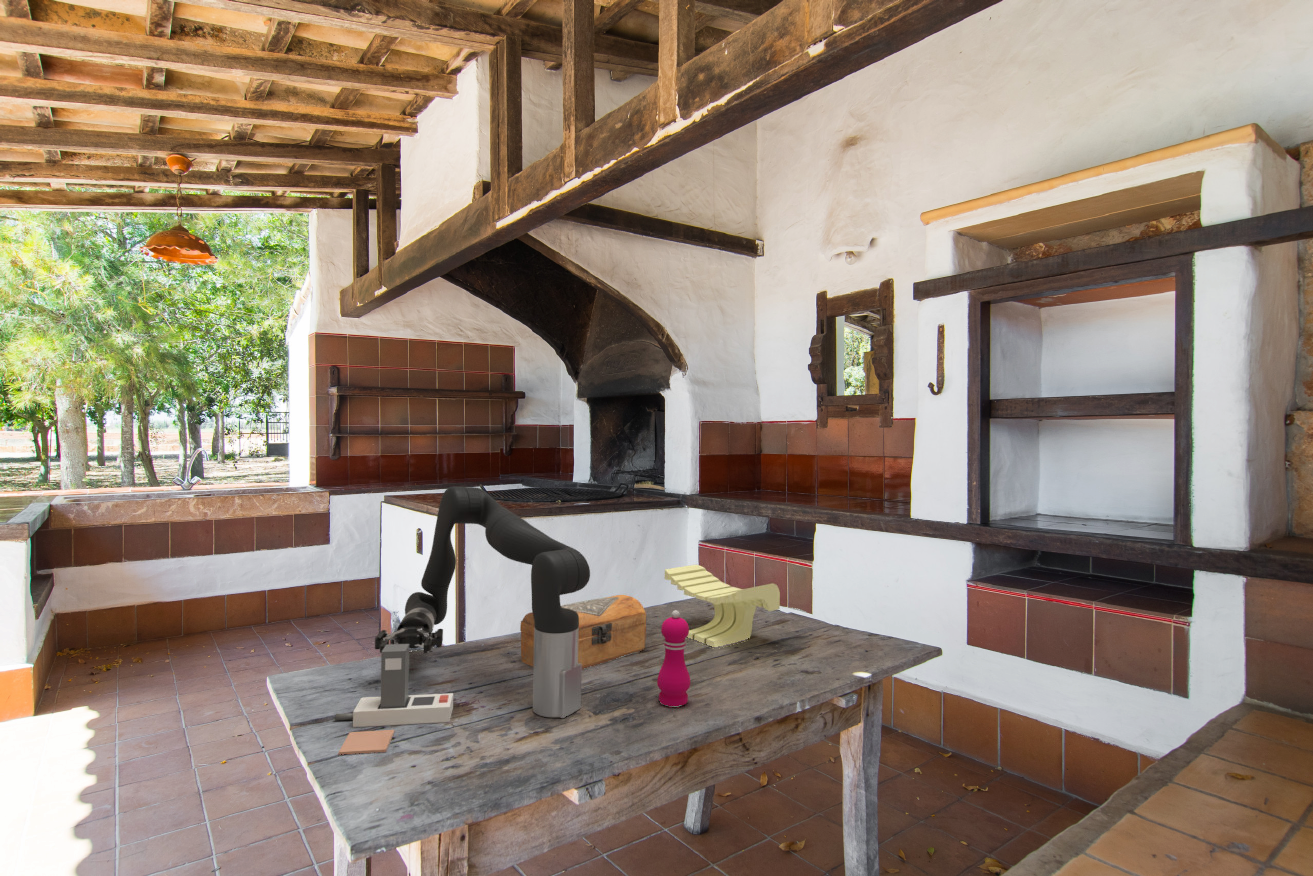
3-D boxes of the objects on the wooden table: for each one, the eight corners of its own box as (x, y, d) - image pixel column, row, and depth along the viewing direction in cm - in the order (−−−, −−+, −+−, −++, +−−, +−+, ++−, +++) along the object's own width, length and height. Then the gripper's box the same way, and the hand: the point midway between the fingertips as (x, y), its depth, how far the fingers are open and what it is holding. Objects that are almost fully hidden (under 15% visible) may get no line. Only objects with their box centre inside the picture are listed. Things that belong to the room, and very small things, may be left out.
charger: (408, 702, 140) (409, 643, 140) (404, 711, 136) (405, 651, 136) (385, 703, 139) (386, 644, 139) (380, 712, 135) (381, 652, 135)
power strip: (453, 707, 143) (453, 690, 143) (449, 722, 136) (449, 704, 136) (340, 713, 139) (340, 695, 139) (330, 728, 132) (331, 709, 132)
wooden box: (556, 680, 160) (557, 621, 160) (518, 661, 172) (519, 606, 172) (650, 653, 181) (651, 600, 181) (610, 638, 193) (611, 588, 193)
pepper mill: (666, 711, 144) (668, 616, 144) (650, 698, 150) (653, 608, 150) (696, 705, 147) (698, 613, 147) (679, 693, 154) (681, 604, 153)
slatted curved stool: (778, 646, 189) (780, 581, 189) (739, 658, 178) (740, 589, 178) (702, 620, 212) (703, 563, 211) (663, 629, 201) (664, 569, 201)
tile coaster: (394, 732, 131) (394, 729, 131) (386, 752, 123) (386, 749, 123) (349, 734, 130) (349, 732, 130) (338, 755, 122) (338, 752, 122)
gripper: (385, 612, 163) (370, 633, 147) (447, 611, 166) (439, 631, 150) (384, 643, 163) (369, 668, 147) (446, 641, 166) (438, 665, 150)
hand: (404, 649), depth 148 cm, fingers open, 8 cm apart
